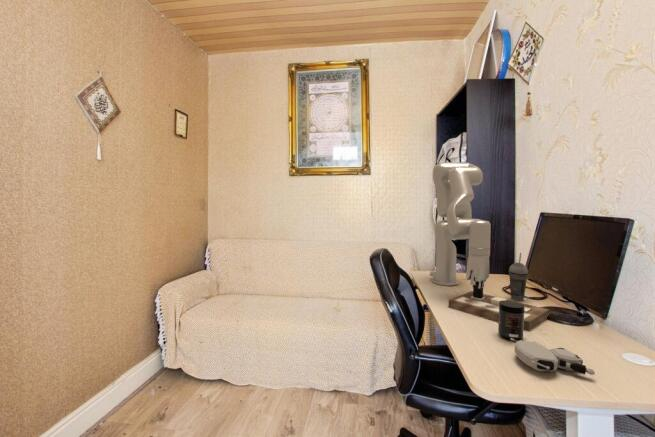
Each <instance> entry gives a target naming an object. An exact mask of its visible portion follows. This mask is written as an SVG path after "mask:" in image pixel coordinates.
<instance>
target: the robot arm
mask: <svg viewBox="0 0 655 437" xmlns="http://www.w3.org/2000/svg"><path fill="white" fill-rule="evenodd" d="M483 179H484V175H483V171H482V170H481V168H480V167H479V166H477V165H474V164H473V163H470V162H440V163H437V164H436V165H435V166H434V167H433V170H432V180H433V184H434V186H435V187H434V188H435V190H436V211H437V215H438V216H439V217H440V218H446V219H445V220H444V219H443V220H442V219H441V220H439V221H437V222H436V223H435V225H434V235H435V248H436V250H435V271H430V272H429V276H430V277H433V278H432V279H431V280H432V283H434V284H436V285H440V286H446V287H449V286H450V287H451V286H453V287H454V286H457V285H459V284H460V281H459V279H456V278H457V247H456V246H457V245H455V243H454V242H453V241H452V240H468V257H467V261H466V263H467V264H466V271H465V272H466V274H465V278H466V280H467V281H470V282H469V284H470V285H472V291H473V297H476V298H480V299H481V298H483V294H484V287H485V282H486V281H487V279H489V277H490V257H491V234H492V233H491V228H492V227H491V223H490V221H489V220H483V219H481V218H472V217H473V216H472V205H471V202H472V201H473V200H474V198H475V195H474V190H473V186H480V185H481V184H482V183H483Z"/></svg>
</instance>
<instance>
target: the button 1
mask: <svg viewBox="0 0 655 437" xmlns="http://www.w3.org/2000/svg"><path fill="white" fill-rule="evenodd" d="M470 298H472V299H476V300H480V301H482V300H484V299H485V297H483V298H481V299H480V298H476V297H473V296H471V297H470Z"/></svg>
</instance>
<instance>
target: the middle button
mask: <svg viewBox="0 0 655 437" xmlns="http://www.w3.org/2000/svg"><path fill="white" fill-rule="evenodd" d="M502 300H508V299H507V298H503V299H502V297H499V298H498V296H495V297H494V298H492V299H491V303H492V304H495V305H499V301H502Z"/></svg>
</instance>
